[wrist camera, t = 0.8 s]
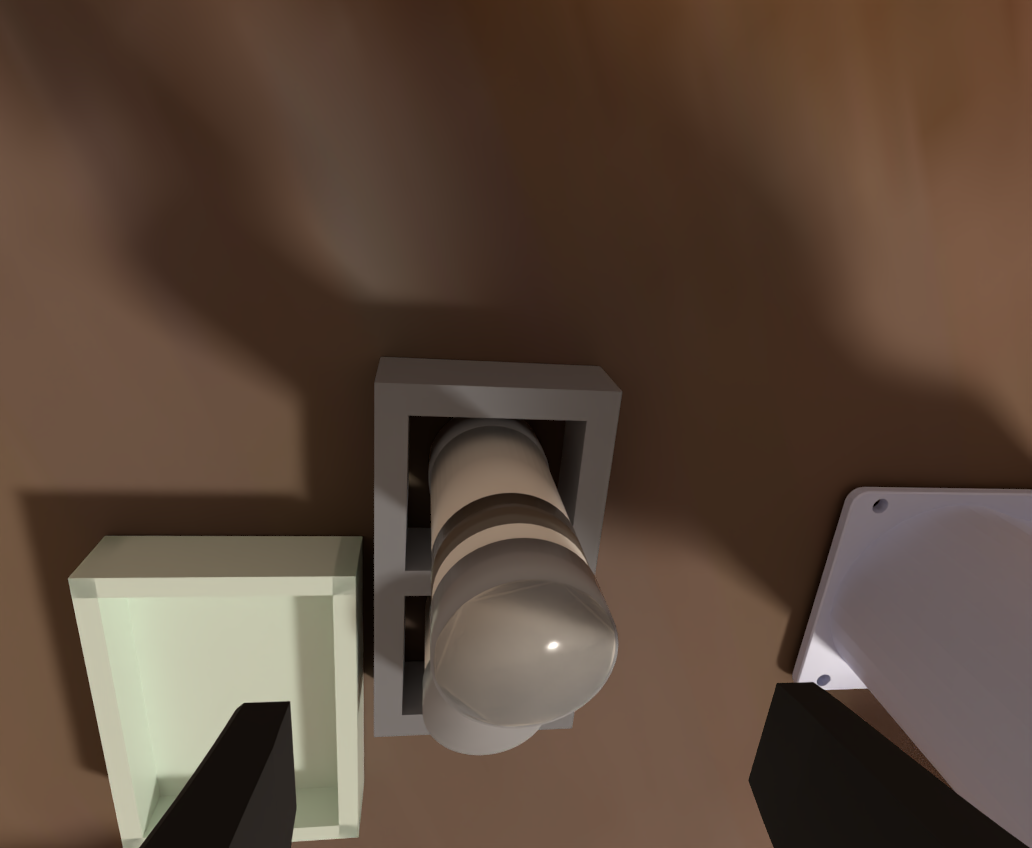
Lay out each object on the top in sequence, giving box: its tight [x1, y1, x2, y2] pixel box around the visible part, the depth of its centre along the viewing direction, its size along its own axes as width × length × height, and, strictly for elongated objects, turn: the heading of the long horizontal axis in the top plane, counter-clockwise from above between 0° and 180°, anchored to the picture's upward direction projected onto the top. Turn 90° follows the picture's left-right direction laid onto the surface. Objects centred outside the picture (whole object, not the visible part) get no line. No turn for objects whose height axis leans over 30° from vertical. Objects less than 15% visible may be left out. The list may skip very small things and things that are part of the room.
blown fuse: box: [428, 417, 618, 728], centre depth 15 cm, size 3×3×8 cm
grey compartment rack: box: [374, 357, 622, 755], centre depth 17 cm, size 6×11×4 cm, turn 175°
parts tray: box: [68, 536, 364, 848], centre depth 19 cm, size 7×10×2 cm
